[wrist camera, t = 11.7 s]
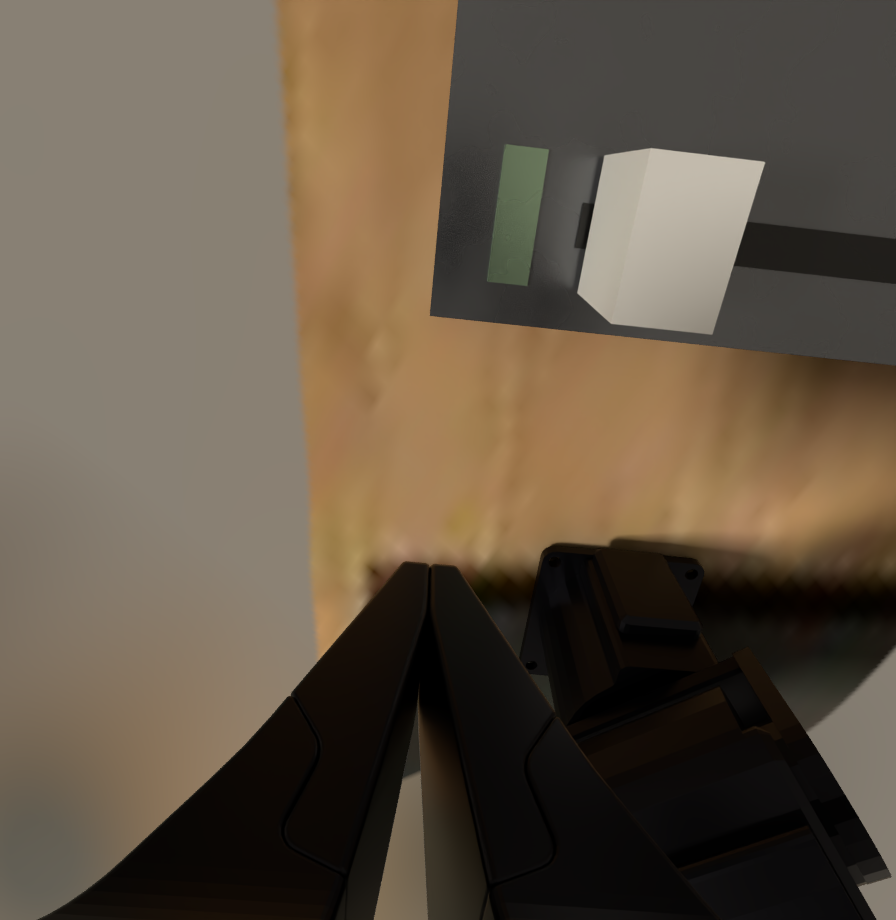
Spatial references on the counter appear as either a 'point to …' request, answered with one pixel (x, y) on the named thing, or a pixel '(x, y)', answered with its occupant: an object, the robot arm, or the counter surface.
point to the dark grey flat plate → (685, 130)
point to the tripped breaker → (666, 237)
